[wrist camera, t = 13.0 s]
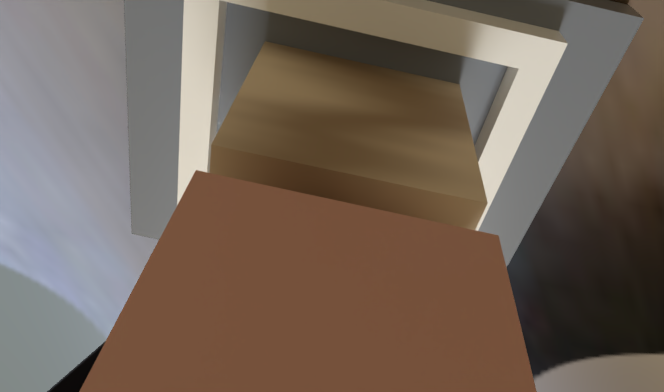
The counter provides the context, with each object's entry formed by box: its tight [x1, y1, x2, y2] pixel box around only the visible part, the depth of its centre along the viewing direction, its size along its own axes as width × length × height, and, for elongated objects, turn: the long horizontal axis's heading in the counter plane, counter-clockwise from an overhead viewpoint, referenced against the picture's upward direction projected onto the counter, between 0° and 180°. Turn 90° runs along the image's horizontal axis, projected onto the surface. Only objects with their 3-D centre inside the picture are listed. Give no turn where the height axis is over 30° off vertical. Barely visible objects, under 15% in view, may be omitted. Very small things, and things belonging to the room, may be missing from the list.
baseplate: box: [124, 0, 644, 268], centre depth 15 cm, size 12×10×2 cm
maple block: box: [209, 41, 488, 230], centre depth 13 cm, size 5×5×5 cm
